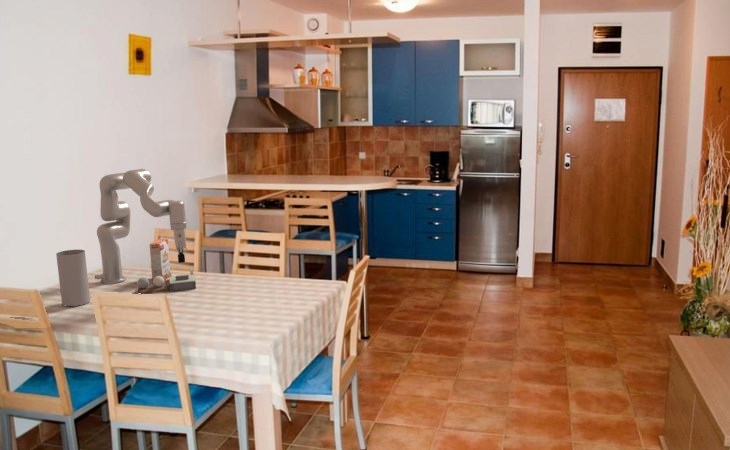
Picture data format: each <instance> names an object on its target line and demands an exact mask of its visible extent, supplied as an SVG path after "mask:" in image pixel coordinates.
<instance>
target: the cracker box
mask: <svg viewBox="0 0 730 450" xmlns="http://www.w3.org/2000/svg"><path fill="white" fill-rule="evenodd" d="M149 253H150V265H151V266H150V267H151V279H152V280H151V281H152V282H153V280H154V278H155V277H156V276H161V277H163V278H164V280H165V281H166V280H167V279H169V273H171V267H170V266H171V265H170V254H169V253H170V252H169V239H167V238H159V239H158V238H157V239H156V240H155V241H152V242H151V243H150V244H149Z"/></svg>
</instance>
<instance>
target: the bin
mask: <svg viewBox="0 0 730 450" xmlns="http://www.w3.org/2000/svg"><path fill="white" fill-rule="evenodd" d="M189 273H190V275H194V276H195V274H194V271H193V270H191V271H190V272H189ZM169 277H173V276H172V273H171V272H170V273H169ZM169 277H168V279H169ZM169 282H170V279H169ZM196 285H197V283H196V281H195V282H187V283H177V284H170V283H169V288H170V292H175V291H176V292H178V291H187V290H195V289H197V286H196Z"/></svg>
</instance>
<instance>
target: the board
mask: <svg viewBox="0 0 730 450" xmlns="http://www.w3.org/2000/svg"><path fill="white" fill-rule="evenodd" d="M167 291H168V287H167V283H164V285H163V286H161V287H156V286H155V285H154V284H151V285H150V284H149V286H148V287H147V288H145V289H142V288H140V287H139V286H138V285H137V291H136V292H137V294H138V293H141V294H140V295H148V294H156V293H157V294H159V293H166V292H167Z"/></svg>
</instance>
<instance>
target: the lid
mask: <svg viewBox="0 0 730 450" xmlns="http://www.w3.org/2000/svg"><path fill="white" fill-rule="evenodd" d="M168 279H170V281H169V285H170V284H177V283H187V282H195V283H196V278H195V274H194V275H191V274H183V275H175V276H172V277H168Z"/></svg>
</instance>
